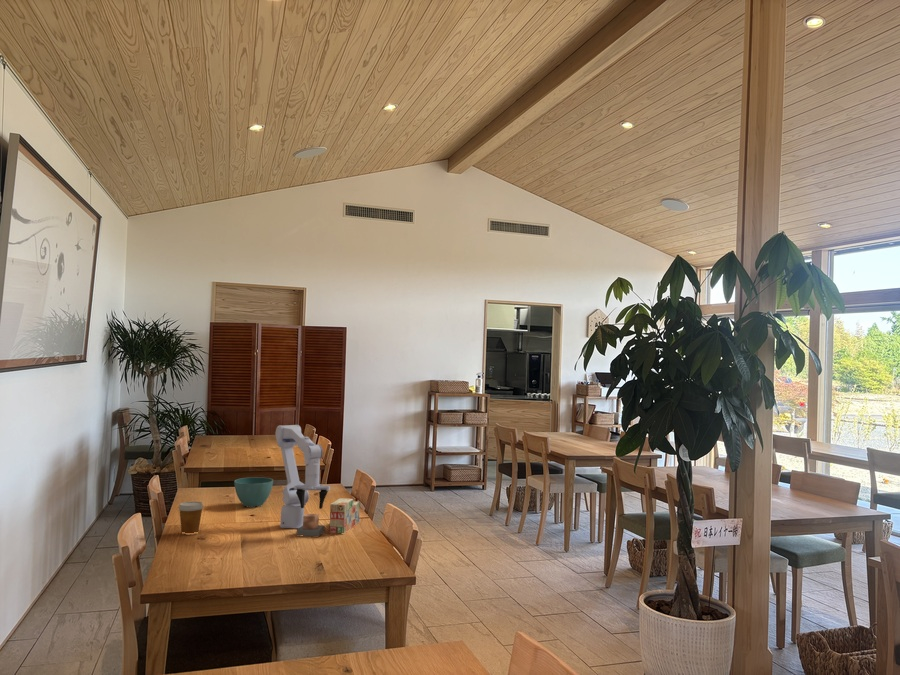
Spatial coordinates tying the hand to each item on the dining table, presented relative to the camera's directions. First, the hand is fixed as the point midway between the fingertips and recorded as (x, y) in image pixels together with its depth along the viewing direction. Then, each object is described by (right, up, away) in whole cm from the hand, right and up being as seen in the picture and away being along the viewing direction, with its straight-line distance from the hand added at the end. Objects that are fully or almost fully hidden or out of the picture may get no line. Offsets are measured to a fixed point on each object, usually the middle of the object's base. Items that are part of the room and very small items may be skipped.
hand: (311, 508), depth 275 cm
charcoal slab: (0, -11, 0) cm, 11 cm away
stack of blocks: (+12, -12, +11) cm, 20 cm away
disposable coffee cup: (-49, -10, -4) cm, 50 cm away
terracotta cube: (0, -8, 0) cm, 8 cm away
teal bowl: (-39, -12, +52) cm, 66 cm away
